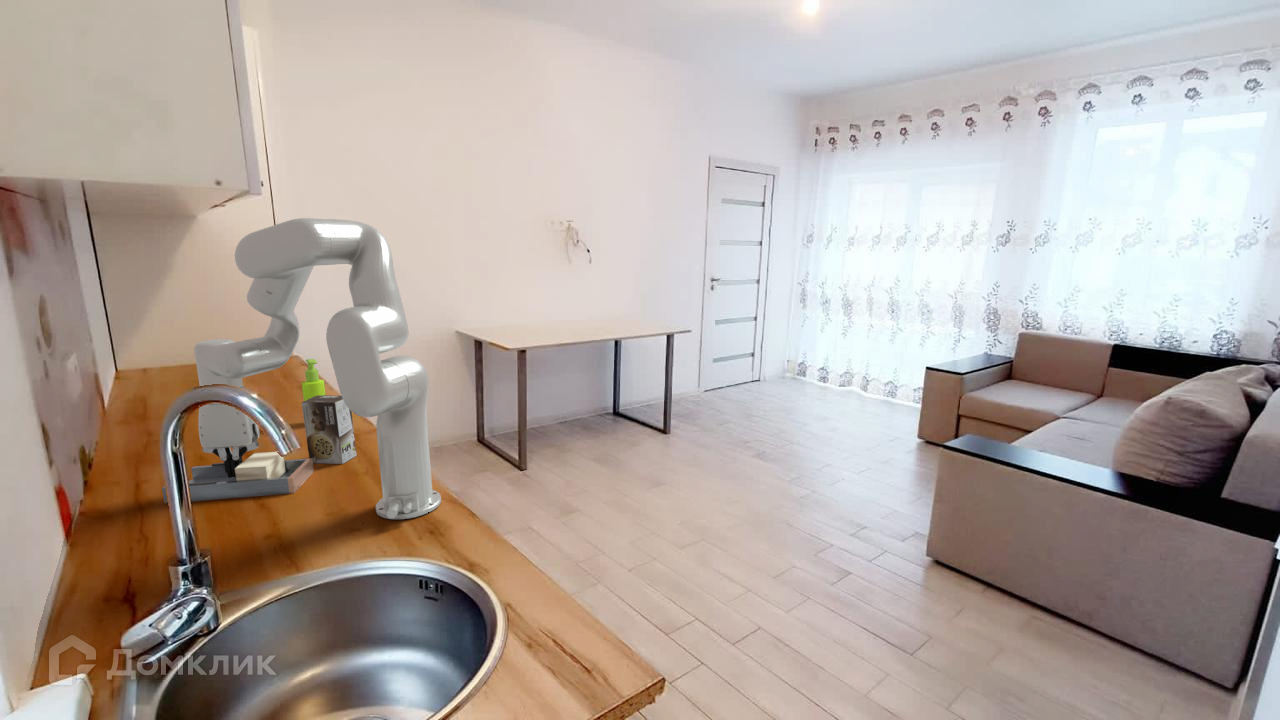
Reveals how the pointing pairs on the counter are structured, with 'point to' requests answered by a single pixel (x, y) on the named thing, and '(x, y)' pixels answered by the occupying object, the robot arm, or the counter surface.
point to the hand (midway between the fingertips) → (235, 475)
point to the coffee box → (329, 429)
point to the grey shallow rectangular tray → (245, 482)
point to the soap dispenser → (312, 382)
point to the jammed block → (261, 466)
